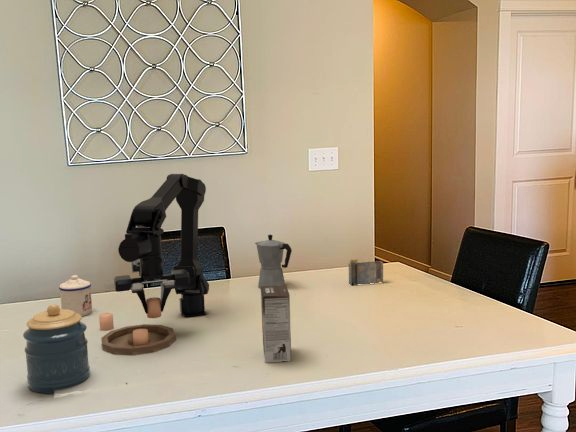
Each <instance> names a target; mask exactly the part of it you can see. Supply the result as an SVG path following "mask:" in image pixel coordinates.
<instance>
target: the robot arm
mask: <svg viewBox="0 0 576 432" xmlns="http://www.w3.org/2000/svg"><path fill="white" fill-rule="evenodd" d="M206 191H207V187H206V184H205V183H204V182H203V181H202V179H199V178H194V177H192V176H191V177H190V176H189V175H187V174H184V173H170V174H168V175H167V176H166V180H165V181H164V182H163V183H162V184H161V185H160V186H159V188H158V189H157V190H156V192H155V193H153V194H152V196H151V197H150V198H148V199H145V200H143V201H141V202H139V203H137V204H136V205H135V206H134V207H133V208H132V212H131V214H130V218H129V220H128V224H127V228H126V230H125V232H126V233H125V234H124V239H123V240H122V241H121V242H120V243H119V245H118V249H117V250H118V251H117V252H118V255H119V256H120V258H121V259H122V260H123V261H124V262H127V263H131V272H132V273H133V274H134V273H138V276H139V277H134V278H133V277H132V278H131V276H130V274H127V275H126V274H125V275H118V276H115V277H114V278H113V285H114V289H115V292H118V293H119V292H120V293H121V292H127V291H131V293H132V294H136V295H137V296H138V299H139V301H140V303H141V305H142V307H143V310H144V312H145V313H144V314H146V315H147V304H146V299H147V298H146V294H145V290H144V286H143V285H152V284H160V300H161V313H163V312H164V309H165V307H166V303H167V300H168V297H169V295H170V293H171V291H172V290H175V291H174V292H175V294H176V295H180V297H179V312H180V313H181V315H182V316H183V317H184V318H188V317H195V316H196V317H197V316H198V317H199V316H204V315H207V312H206V311H205V310H206V309H205V307H206V306H205V295H208V294H209V290H210V283H209V282H208V280H207V279H206V278H205V276H204V269H203V266H202V265H201V263H200V262H199V260H198V253H199V252H198V250H199V249H198V247H199V245H198V243H199V209H200V208H201V206H202V205H203V203H204V202H205V196H206V195H205V194H206ZM174 200H175V201H176V203H177V205H178V206H179V208H180V210H181V213H180V215H181V216H180V217H181V218H180V224H181V225H180V259H179V261H178V263H177V265H174V267H173V270H171V273H170V274H164V267H163V264H164V263H163V251H162V234H164V233H165V230H164V229H163V228H162V225H164V224H163V223H164V222H165V219H167V214H166V211H167V210H168V208H169V206H171V204H172V203H173V201H174Z"/></svg>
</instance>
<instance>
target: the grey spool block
mask: <svg viewBox="0 0 576 432" xmlns="http://www.w3.org/2000/svg"><path fill="white" fill-rule="evenodd" d="M379 282H382V283H383V284H384V262H383V261H381V260H377V261H362V262H361V261H360V262H358V258H356V259H352V258H351V259H350V260H349V263H348V285H349V284H350V285H353V284H352V283H357V284H370V283H379ZM357 284H356V285H357ZM350 285H349V286H350ZM370 285H371V284H370Z"/></svg>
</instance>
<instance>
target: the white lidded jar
mask: <svg viewBox="0 0 576 432" xmlns="http://www.w3.org/2000/svg"><path fill="white" fill-rule="evenodd" d="M91 287H92V284H91V282H90V281H88V280H85V279H82V278H79V276H78V274H75V275H71V276H70V278H69V279H68V280H67V281H64V282H63V283H60V285H59V287H58V290H59V293H60V294H59V295H60V307H61V309H68V310H72V311H74V312H75V313H78V314H80V315H81V316H82V317H85V316H88V315H90V314H92V313H93V305H92V302H93V301H92V291H91Z"/></svg>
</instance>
